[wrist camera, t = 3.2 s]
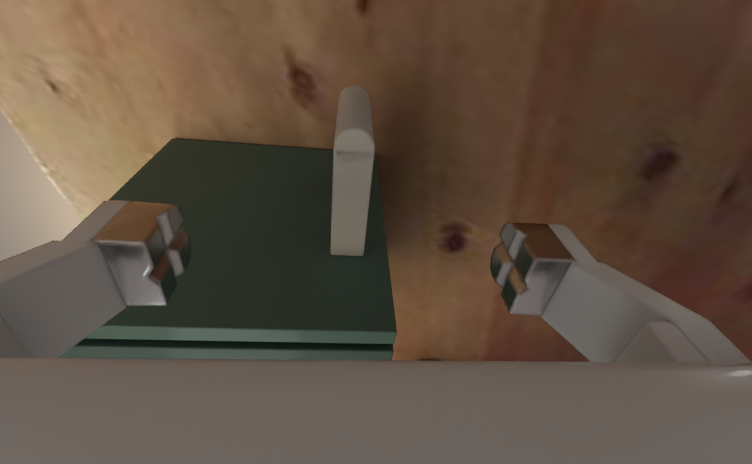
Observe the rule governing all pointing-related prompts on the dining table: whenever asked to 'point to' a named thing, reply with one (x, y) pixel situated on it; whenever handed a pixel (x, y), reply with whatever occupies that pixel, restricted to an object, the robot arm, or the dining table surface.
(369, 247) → the door
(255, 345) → the cupboard
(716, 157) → the dining table surface
